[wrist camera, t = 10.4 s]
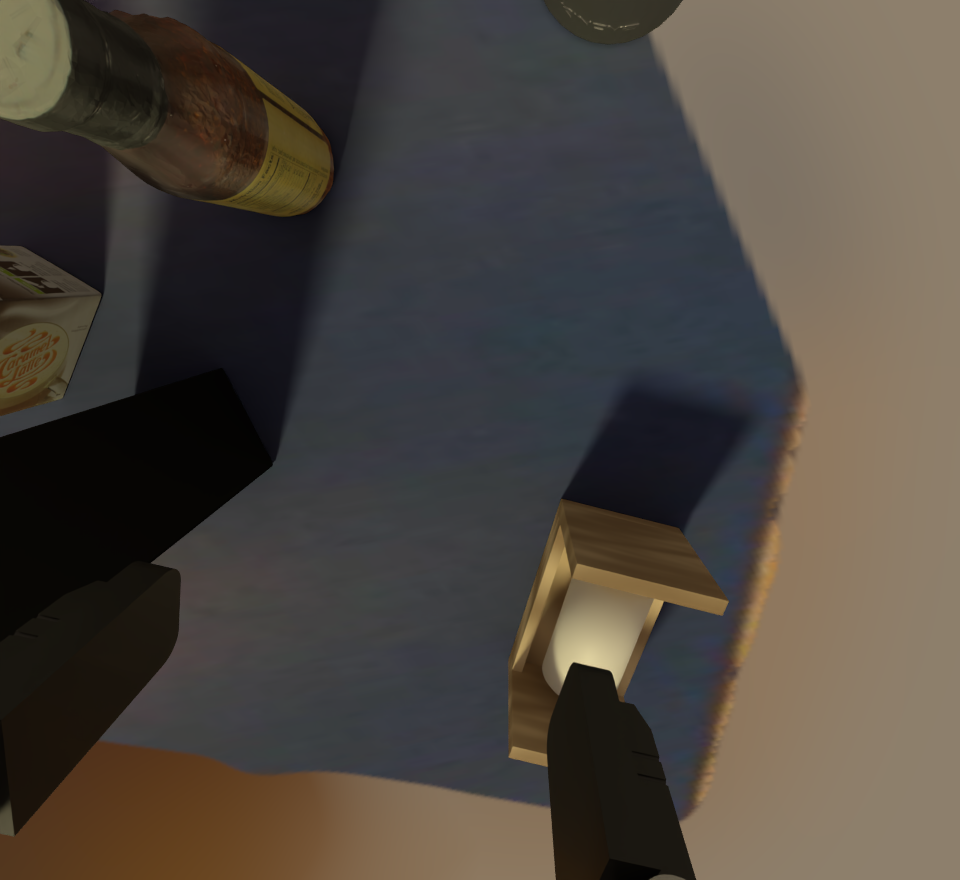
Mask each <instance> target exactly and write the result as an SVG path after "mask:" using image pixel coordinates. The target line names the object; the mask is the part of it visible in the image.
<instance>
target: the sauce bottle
mask: <svg viewBox="0 0 960 880" xmlns="http://www.w3.org/2000/svg"><path fill="white" fill-rule="evenodd" d="M0 119H3V120H6V121H9V122H12V123H14V124H17V125H20V126H25V127H27V128H30V129H34V130H37V131H41V132H56V131H65V132H68V133H71V134H74V135H79V136H82V137H85V138H87V139H88V140H90V141H92V142H94V143H96V144H99V145H101V146H102V147H103V148H104V149H105V150H107V151H108V152H109V153H110V154H111V155H112V156H114V157H115V158H116V159H117V160H118V161H120V162H121V163H122V164H123V165H124V166H125V167H127V168H128V169H129V170H130V171H131V172H133V173H134V174H135V175H136V176H138V177H139V178H140V179H142V180H143V181H144V182H146V183H147V184H149V185H151V186H153V187H155V188H156V189H159V190H161V191H163V192H166V193H169V194H171V195H174V196H177V197H182V198H186V199H191V200H197V201H202V202H207V203H213V204H218V205H223V206H228V207H233V208H238V209H243V210H248V211H253V212H258V213H263V214H268V215H273V216H280V217H288V216H294V215H300V214H306V213H308V212H309V211H311V210H312V209H313V208H315V207H317V205H318V204H319V203H321V201H322V200H323V199H324V198H325V196H326V195H327V193H328V192H329V191H330V189H331V187H332V184H333V175H334V166H333V156H332V152H331V146H330V142H329V140H328V138H327V137H326V135H325V133H324V132H323V131H322V129H321V128H320V127H319V126H318V125H317V123H316V122H315V121H314V119H313V118H312V117H311V116H310V115H309V114H308V113H307V112H306V111H305V110H304V109H303V108H301V107H300V106H299V105H297V104H296V103H295V102H293V101H292V100H291V99H289V98H288V97H287V96H286V95H284V94H283V93H282V92H280V91H279V90H278V89H276V88H275V87H273V86H272V85H271V84H269V83H268V82H267V81H265V80H264V79H263V78H261V77H260V76H259V75H258V74H256V73H255V72H254V71H252V70H251V69H250V68H248V67H247V66H246V65H244V64H243V63H242V62H240V61H239V60H238V59H236V58H235V57H234V56H232V55H231V54H230V53H228V52H227V51H226V50H224V49H223V48H221V47H220V46H218V45H216V44H214V43H212V42H210V41H208V40H206V39H205V38H204V37H203V36H202V35H200V34H199V33H198V32H196V31H195V30H193V29H192V28H190V27H188V26H187V25H185V24H183V23H180V22H178V21H177V20H175V19H172V18H169V17H165V18H158V17H154V16H149V15H147V14H140V15H130V14H128V13H125V12H122V11H118V10H114V11H112V12H111V13H107V12H104V11H100V10H99V9H97V8H96V7H94V6H93V5H91V4H90V3H88V2H86V1H84V0H0Z"/></svg>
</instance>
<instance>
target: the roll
mask: <svg viewBox="0 0 960 880" xmlns="http://www.w3.org/2000/svg"><path fill="white" fill-rule="evenodd" d="M653 600H654V599H653V598H649V597H645V596H641V595H637V594H633V593H629V592H625V591H621V590H617V589H613V588H609V587H605V586H601V585H597V584H593V583H589V582H585V581H581V580H577V579H573V578H572V579H571V582H570V585H569V588H568V590H567V593H566V596H565V599H564V602H563V605H562V608H561V611H560V614H559V617H558V620H557V623H556V626H555V628H554V631H553V634H552V637H551V640H550V643H549V646H548V649H547V652H546V655H545V658H544V661H543V664H542V672H543V675H544V678H545V680H546V682H547V683H548V685H549V686H550V687H551V689H552V690H553V691H554V692H555V693H556V694H558V695H559V694H560V691H561V689H562V686H563V683H564V680H565V678H566V675H567V672H568V670H569V667H570V666H571V664H572V663H573V662H575V663H580V664H584V665H588V666H593V667H597V668H602V669H606V670H609V671H611V672H612V674H613V677H614V681H615V685H616V689H618V686H619V684H620V682H621V679H622V677H623V674H624V672H625V669H626V667H627V664H628V662H629V659H630V657H631V654H632V652H633V650H634V647H635V645H636V642H637V640H638V637H639V635H640V632H641V630H642V627H643V625H644V622H645V620H646V618H647V615H648V613H649V610H650V608H651V605H652V603H653Z"/></svg>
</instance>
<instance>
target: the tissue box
mask: <svg viewBox="0 0 960 880" xmlns="http://www.w3.org/2000/svg"><path fill="white" fill-rule="evenodd" d="M272 466H273V463H272V461H271V459H270V457H269V456H268V454H267V452H266V450H265V448H264V446H263V444H262V442H261V440H260V439H259V437H258V435H257V433H256V431H255V429H254V427H253V425H252V423H251V422H250V420H249V418H248V416H247V414H246V412H245V410H244V408H243V406H242V405H241V403H240V401H239V399H238V397H237V395H236V393H235V391H234V389H233V388H232V386H231V384H230V382H229V380H228V378H227V376H226V374H225V372H224V370H223V369H222V368H220V369H217V370H214V371H211V372H207V373H204V374H201V375H198V376H195V377H191V378H188V379H185V380H182V381H179V382H175V383H172V384H169V385H166V386H163V387H159V388H156V389H153V390H150V391H147V392H143V393H140V394H137V395H134V396H131V397H127V398H124V399H121V400H118V401H115V402H111V403H108V404H105V405H102V406H99V407H95V408H92V409H89V410H86V411H83V412H79V413H76V414H73V415H70V416H67V417H63V418H60V419H57V420H54V421H51V422H47V423H44V424H41V425H38V426H35V427H31V428H28V429H25V430H22V431H19V432H15V433H12V434H9V435H6V436H3V437H0V642H1V641H3V640H4V639H5V638H7V637H8V636H9V635H12V636H13V635H14V634H15V632H16V630H17V629H19V628H20V627H21V626H23V625H24V624H26V623H27V622H28V621H30V620H31V619H32V618H35V619H36V618H37V617H38V614H39V613H40V612H42V611H43V610H44V609H46V608H47V607H49V606H50V605H51V604H53V603H54V602H55V601H57V600H58V599H59V598H61V597H62V596H63V595H65V594H67V593H69V592H72V591H74V590H76V589H79V588H81V587H83V586H86V585H88V584H91V583H93V582H95V581H98V580H99V581H103V582H108V581H109V580H110V579H112V578H113V577H114V576H116V575H117V574H118V573H119V572H121V571H122V570H123V569H124V568H126V567H127V566H128V565H130V564H131V563H133V562H135V561H142V562H147V563H151V562H152V561H154V560H155V559H156V558H157V557H159V556H160V555H161V554H162V553H164V552H165V551H166V550H167V549H169V548H170V547H171V546H172V545H174V544H175V543H176V542H177V541H179V540H180V539H181V538H182V537H184V536H185V535H186V534H187V533H189V532H190V531H191V530H192V529H194V528H195V527H196V526H198V525H199V524H200V523H201V522H203V521H204V520H205V519H206V518H208V517H209V516H210V515H211V514H213V513H214V512H215V511H216V510H218V509H219V508H220V507H221V506H223V505H224V504H225V503H226V502H228V501H229V500H230V499H231V498H233V497H234V496H235V495H236V494H238V493H239V492H240V491H241V490H243V489H244V488H245V487H246V486H248V485H249V484H250V483H252V482H253V481H254V480H255V479H257V478H258V477H259V476H260V475H262V474H263V473H264V472H265V471H267V470H268V469H269V468H270V467H272Z"/></svg>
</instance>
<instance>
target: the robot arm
mask: <svg viewBox="0 0 960 880" xmlns="http://www.w3.org/2000/svg"><path fill="white" fill-rule="evenodd" d="M682 1H683V0H544V2H545V4H546V6H547V7H548V9H549V11H550V12H551V13H552V15H553V16H554V17H555V18H556V19H557V21H558V22H559V23H560V24H561V25H562V26H563V27H565V28H566V29H567V30H569V31H570V32H571V33H573V34H574V35H576V36H578V37H580V38H583V39H585V40H588V41H590V42H594V43H601V44H617V43H626V42H629V41H632V40H634V39H637V38H640V37H643V36H644V35H646V34H648V33H649V32H651V31H652V30H654V29H655V28H657V27H659V26H660V25H661V24H662V23H663V22H664V21H665V20H666V19H667V18H668V17H669V16H671V15H672V14H673V13H674V11H675V10H676V8H677V7H678V6H679V5H680V3H681V2H682ZM180 584H181V577H180V573H179V571H178V570H176V569H173V568H168V567H164V566H160V565H155V564H151V563H147V562H142V561H135V562H133V563H131V564H130V565H128V566H127V567H126V568H124V569H123V570H122V571H121V572H119V573H118V574H117V575H116V576H114V577H113V578H112V579H110V580H109V581H108V582H103V581H99V580H98V581H95V582H93V583H91V584H88V585H86V586H83V587H81V588H79V589H76V590H74V591H72V592H69V593H67V594H65V595H63V596H62V597H61V598H59V599H58V600H57V601H55V602H54V603H53V604H51V605H50V606H49V607H47V608H46V609H44V610H43V611H42V612H40V613H39V614H38V617H37V618H36V619H35V618H32V619H31V620H30V621H28V622H27V623H26V624H24V625H23V626H21V627H20V628H19V629H17V630H16V632H15V634H14V635H13V636H12V635H9V636H8V637H7V638H5V639H4V640H3V641H1V642H0V833H1V834H5V835H10V836H15V835H16V834H17V833H18V832H19V831H20V829H21V828H22V827H23V826H24V825H25V824H26V823H27V821H28V820H29V819H30V818H31V817H32V816H33V814H34V813H35V812H36V811H37V810H38V809H39V808H40V806H41V805H42V804H43V803H44V802H45V801H46V800H47V798H48V797H49V796H50V795H51V794H52V792H53V791H54V790H55V789H56V788H57V787H58V786H59V784H60V783H61V782H62V781H63V780H64V779H65V778H66V776H67V775H68V774H69V773H70V772H71V771H72V770H73V768H74V767H75V766H76V765H77V764H78V763H79V761H80V760H81V759H82V758H83V757H84V756H85V755H86V753H87V752H88V751H89V750H90V749H91V748H92V746H93V745H94V744H95V743H96V742H97V741H98V740H99V738H100V737H101V736H102V735H103V734H104V733H105V732H106V730H107V729H108V728H109V727H110V726H111V725H112V724H113V722H114V721H115V720H116V719H117V718H118V717H119V715H120V714H121V713H122V712H123V711H124V710H125V709H126V707H127V706H128V705H129V704H130V703H131V702H132V700H133V699H134V698H135V697H136V696H137V695H138V694H139V692H140V691H141V690H142V689H143V688H144V687H145V686H146V684H147V683H148V682H149V681H150V680H151V679H152V677H153V676H154V675H155V674H156V673H157V672H158V671H159V669H160V668H161V667H162V666H163V665H164V663H165V662H166V661H167V659H168V658H169V656H170V654H171V652H172V650H173V648H174V646H175V643H176V640H177V637H178V631H179V609H180ZM547 764H548V778H549V791H550V805H551V819H552V833H553V847H554V861H555V874H556V880H696V878H695V874H694V871H693V868H692V864H691V861H690V858H689V854H688V851H687V848H686V844H685V841H684V838H683V835H682V831H681V828H680V824H679V821H678V818H677V814H676V811H675V808H674V804H673V801H672V798H671V794H670V791H669V788H668V786H667V785H666V778H665V774H664V771H663V768H662V764H661V762H659V754H658V751H657V748H656V744H655V741H654V738H653V734H652V731H651V729H650V727H649V726H648V724H647V723H646V722H645V720H644V719H643V717H642V716H641V714H640V713H639V711H638V710H637V708H636V707H635V705H634V704H629V703H625V702H621V701H619V697H618V693H617V689H616V685H615V681H614V677H613V674H612V672H611V671H609V670H606V669H602V668H597V667H593V666H588V665H584V664H580V663H575V662H573V663H572V664H571V666H570V667H569V670H568V672H567V675H566V678H565V680H564V683H563V686H562V689H561V691H560V694H559V697H558V700H557V702H556V705H555V708H554V710H553V713H552V716H551V719H550V723H549V728H548V735H547Z"/></svg>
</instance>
